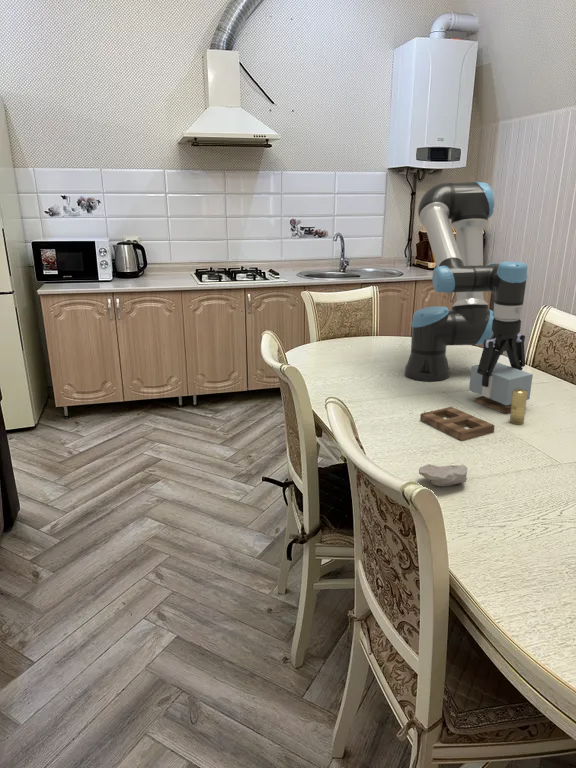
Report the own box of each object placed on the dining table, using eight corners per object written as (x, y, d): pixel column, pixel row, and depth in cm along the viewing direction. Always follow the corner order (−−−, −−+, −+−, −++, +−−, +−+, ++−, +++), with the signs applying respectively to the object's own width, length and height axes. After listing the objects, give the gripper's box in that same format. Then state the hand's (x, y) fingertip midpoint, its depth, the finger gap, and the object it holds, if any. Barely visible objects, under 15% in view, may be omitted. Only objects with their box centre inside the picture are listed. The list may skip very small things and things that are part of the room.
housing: (469, 390, 166) (471, 366, 164) (491, 384, 170) (494, 361, 168) (506, 405, 154) (509, 379, 152) (529, 399, 158) (532, 374, 156)
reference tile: (474, 401, 166) (476, 382, 164) (491, 397, 169) (493, 378, 167) (505, 413, 156) (508, 393, 154) (523, 409, 159) (525, 389, 157)
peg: (506, 421, 151) (509, 390, 148) (516, 418, 152) (519, 387, 149) (517, 425, 147) (520, 393, 145) (526, 423, 149) (530, 391, 146)
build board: (420, 420, 153) (420, 413, 152) (450, 413, 157) (451, 406, 157) (461, 440, 139) (462, 433, 138) (493, 432, 144) (494, 425, 143)
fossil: (410, 466, 120) (449, 443, 121) (421, 490, 122) (458, 468, 123) (430, 481, 112) (471, 457, 113) (441, 506, 114) (481, 482, 115)
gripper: (488, 326, 147) (480, 404, 154) (545, 316, 156) (535, 390, 164) (467, 320, 153) (461, 396, 161) (524, 311, 162) (515, 383, 170)
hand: (498, 393), depth 162 cm, fingers closed on housing, 9 cm apart
